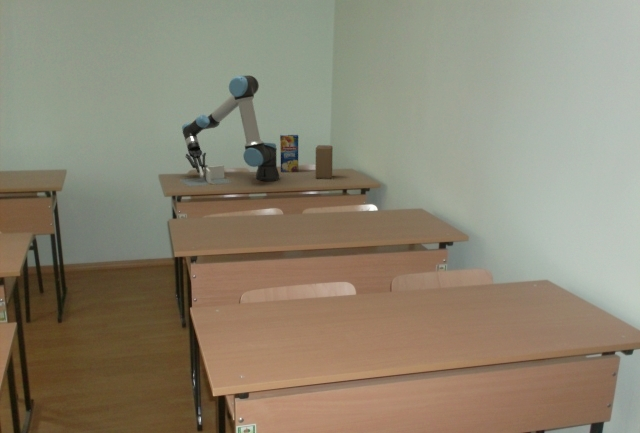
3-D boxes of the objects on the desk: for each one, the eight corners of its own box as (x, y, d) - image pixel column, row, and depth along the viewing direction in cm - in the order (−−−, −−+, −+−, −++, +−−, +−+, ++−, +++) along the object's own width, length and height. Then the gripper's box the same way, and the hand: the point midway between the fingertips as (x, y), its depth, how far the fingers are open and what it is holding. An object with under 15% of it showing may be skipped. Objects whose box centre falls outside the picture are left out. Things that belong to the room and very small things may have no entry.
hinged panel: (205, 179, 388) (205, 167, 386) (207, 179, 389) (207, 167, 387) (209, 183, 376) (208, 171, 374) (211, 183, 377) (210, 171, 375)
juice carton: (298, 170, 427) (298, 134, 421) (298, 172, 420) (298, 136, 414) (280, 170, 426) (280, 134, 420) (280, 172, 419) (280, 136, 413)
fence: (223, 177, 396) (223, 163, 394) (224, 178, 394) (224, 164, 392) (204, 179, 390) (203, 165, 388) (205, 180, 389) (204, 165, 386)
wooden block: (332, 176, 407) (332, 145, 402) (331, 178, 397) (331, 147, 392) (317, 175, 408) (317, 145, 403) (315, 178, 398) (315, 147, 393)
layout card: (220, 177, 401) (220, 176, 401) (232, 183, 382) (232, 182, 382) (178, 180, 389) (178, 179, 389) (188, 187, 370) (188, 186, 370)
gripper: (202, 148, 396) (211, 178, 386) (181, 149, 390) (190, 180, 380) (204, 141, 390) (213, 171, 380) (183, 142, 385) (192, 173, 374)
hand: (202, 176), depth 380 cm, fingers closed
